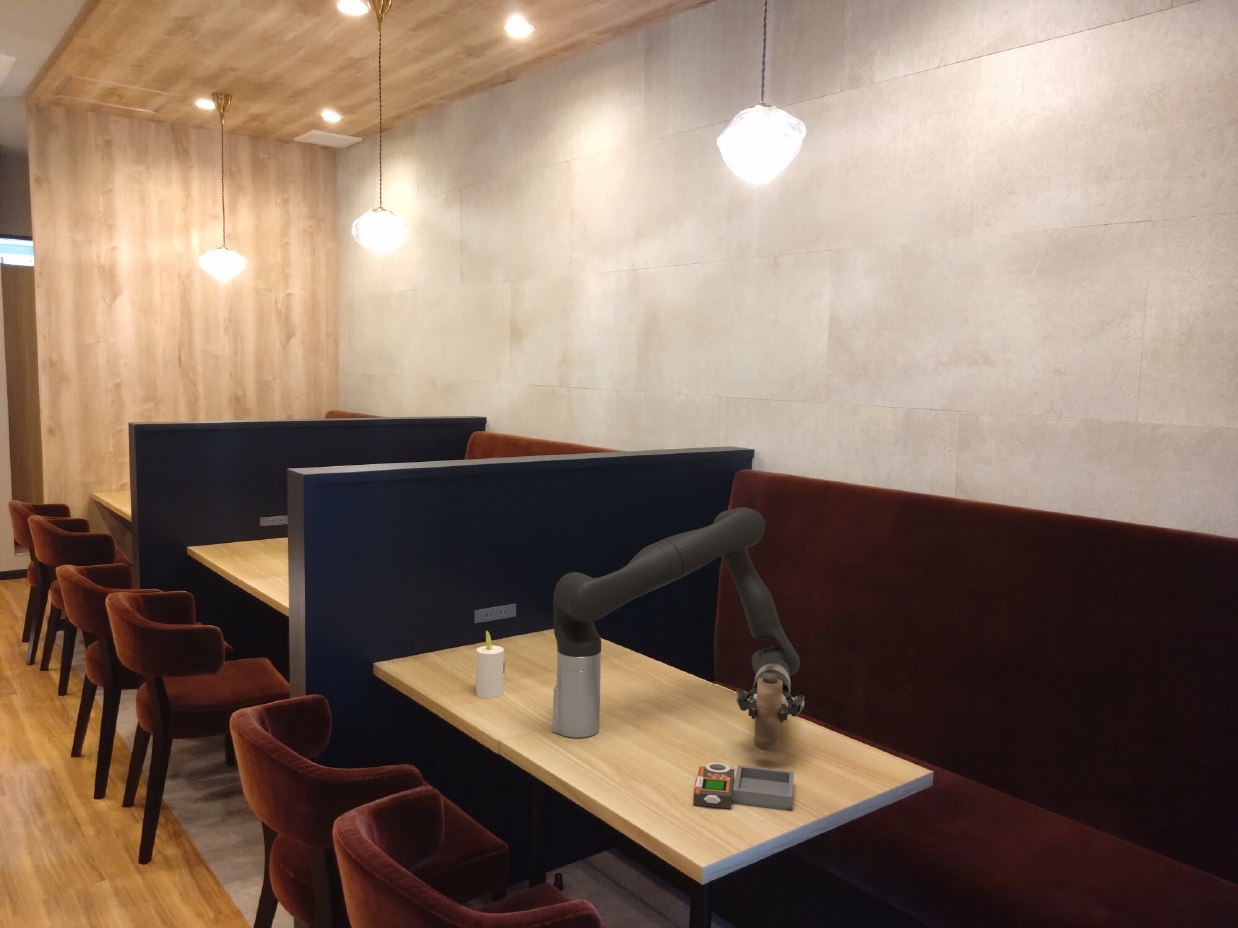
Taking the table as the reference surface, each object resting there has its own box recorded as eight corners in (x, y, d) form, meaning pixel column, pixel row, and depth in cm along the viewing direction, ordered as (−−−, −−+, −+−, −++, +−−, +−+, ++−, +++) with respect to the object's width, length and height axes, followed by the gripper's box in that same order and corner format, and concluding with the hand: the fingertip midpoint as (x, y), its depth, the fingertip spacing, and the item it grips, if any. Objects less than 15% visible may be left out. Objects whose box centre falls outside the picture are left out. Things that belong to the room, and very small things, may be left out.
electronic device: (734, 762, 173) (731, 794, 158) (734, 777, 173) (730, 811, 158) (699, 759, 174) (692, 791, 159) (699, 774, 174) (692, 807, 159)
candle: (504, 697, 209) (505, 634, 207) (476, 698, 208) (476, 635, 206) (503, 688, 215) (504, 626, 213) (475, 688, 214) (476, 627, 212)
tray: (732, 803, 161) (733, 789, 160) (737, 777, 171) (737, 764, 171) (792, 810, 159) (792, 796, 158) (793, 784, 169) (793, 771, 168)
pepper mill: (753, 748, 175) (757, 677, 173) (754, 739, 180) (758, 669, 178) (778, 751, 174) (782, 680, 172) (779, 742, 179) (783, 672, 177)
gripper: (738, 665, 191) (731, 692, 174) (807, 672, 188) (807, 701, 171) (736, 699, 192) (729, 730, 175) (805, 707, 189) (804, 739, 172)
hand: (767, 715), depth 173 cm, fingers closed on pepper mill, 4 cm apart
